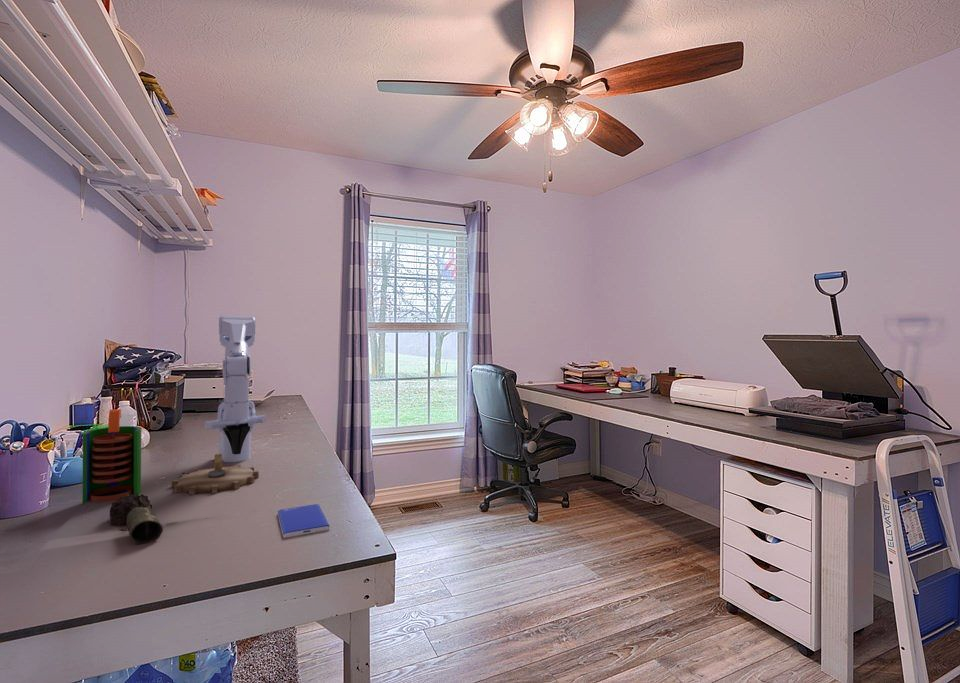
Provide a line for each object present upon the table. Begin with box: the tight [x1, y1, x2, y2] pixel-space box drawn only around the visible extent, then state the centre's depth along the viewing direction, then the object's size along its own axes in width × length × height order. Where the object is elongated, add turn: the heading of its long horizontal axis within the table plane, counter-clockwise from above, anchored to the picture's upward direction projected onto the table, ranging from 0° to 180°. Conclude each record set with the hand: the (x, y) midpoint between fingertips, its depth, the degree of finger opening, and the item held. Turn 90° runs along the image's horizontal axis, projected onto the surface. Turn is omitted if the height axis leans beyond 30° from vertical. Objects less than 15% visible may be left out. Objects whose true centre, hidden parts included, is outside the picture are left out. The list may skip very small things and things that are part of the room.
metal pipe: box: [109, 493, 164, 545], centre depth 87 cm, size 18×7×6 cm, turn 43°
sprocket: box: [171, 453, 260, 496], centre depth 112 cm, size 18×18×6 cm
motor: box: [81, 408, 142, 506], centre depth 102 cm, size 10×9×20 cm
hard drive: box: [277, 503, 330, 539], centre depth 91 cm, size 2×8×12 cm
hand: (236, 453), depth 120 cm, fingers closed
